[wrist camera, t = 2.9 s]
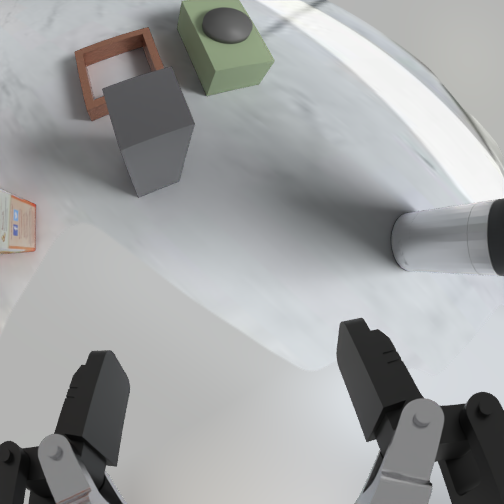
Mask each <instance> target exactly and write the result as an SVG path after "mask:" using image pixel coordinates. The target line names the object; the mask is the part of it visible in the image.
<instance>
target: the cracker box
mask: <svg viewBox="0 0 504 504" xmlns="http://www.w3.org/2000/svg"><path fill="white" fill-rule="evenodd" d="M35 211H36V205H35V204H34V203H31V202H29V201H27V200H25V199H22V198H20V197H18V196H16V195H13V194H11V193H9V192H7V191H5V190H3V189H0V254H9V253H20V252H31V251H35Z"/></svg>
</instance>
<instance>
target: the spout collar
mask: <svg viewBox="0 0 504 504" xmlns="http://www.w3.org/2000/svg"><path fill="white" fill-rule="evenodd" d="M141 47H143V49H144V52H145V55H146V58H147V60H148V63H149V66H150V69H151V72H153V71H156V70H160V69H163V68H164V67H163V64H162V61H161V59H160V56H159V54H158V51H157V48H156V46H155V43H154V40H153V38H152V35H151V33H150V30H149V27H147V28H143V29H140V30H136V31H132V32H129V33H126V34H122V35H119V36H116V37H113V38H110V39H107V40H104V41H101V42H99V43H96V44H93V45H90V46H88V47H85V48H83V49H80V50H78V51H75V57H76V62H77V68H78V73H79V78H80V82H81V87H82V91H83V96H84V100H85V104H86V108H87V112H88V114H89V116H90V118H91V120H92V121H93V120H96V119H98V118H100V117H103V116H105V115H108V114H109V112H108V108H107V105H106V101H105V97H104V96H103V97H101V98H98V99H96V100H94V96H93V92H92V88H91V83H90V79H89V75H88V70H87V66H88V65H91V64H94V63H96V62H99V61H101V60H104V59H107V58H110V57H113V56H116V55H119V54H122V53H125V52H128V51H131V50H134V49H138V48H141Z"/></svg>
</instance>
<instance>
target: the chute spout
mask: <svg viewBox="0 0 504 504" xmlns="http://www.w3.org/2000/svg"><path fill="white" fill-rule="evenodd" d="M102 90H103V94H104V97H105V101H106V105H107V108H108V112H109V115H110V119H111V122H112V125H113V129H114V132H115V135H116V138H117V142H118V145H119V148H120V151H121V154H122V156H123V159H124V162H125V164H126V167H127V170H128V172H129V175H130V177H131V180H132V183H133V185H134V188H135V190H136V193H137V195H138V198H139V197H141V196H144V195H146V194H148V193H151V192H153V191H156V190H158V189H161V188H163V187H166V186H168V185H171V184H174V183H176V182H179V180H180V176H181V172H182V168H183V165H184V161H185V157H186V153H187V150H188V146H189V143H190V139H191V135H192V132H193V129H194V125H195V123H194V121H193V118H192V116H191V113H190V111H189V108H188V106H187V103H186V101H185V98H184V96H183V93H182V91H181V88H180V86H179V83H178V81H177V78H176V76H175V73H174V71H173V68H172V66H171V67H167V68H163V69H160V70H156V71H153V72H150V73H146V74H143V75H140V76H137V77H134V78H131V79H128V80H125V81H122V82H119V83H117V84H114V85H111V86H109V87H106V88H103V89H102Z"/></svg>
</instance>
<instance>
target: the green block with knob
mask: <svg viewBox="0 0 504 504" xmlns="http://www.w3.org/2000/svg"><path fill="white" fill-rule="evenodd" d="M177 30H178V32H179V34H180V36H181V39H182V41H183V43H184V45H185V48H186V50H187V52H188V54H189V57H190V59H191V61H192V63H193V66H194V68H195V70H196V73H197V75H198V77H199V80H200V82H201V84H202V86H203V89H204V91H205V93H206V96H210V95H214V94H218V93H222V92H226V91H230V90H235V89H239V88H244V87H249V86H254V85H259V84H260V82H261V81H262V79H263V78H264V76H265V75H266V73H267V72H268V70H269V69H270V67H271V66H272V64H273V63H274V59H273V57H272V55H271V53H270V51H269V50H268V48H267V46H266V44H265V43H264V41H263V39H262V37H261V36H260V34H259V32H258V30H257V29H256V27H255V25H254V24H253V22H252V20H251V19H250V17H249V15H248V14H247V12H246V10H245V9H244V7H243V6H242V4H241V2H240V1H239V0H185V1H182V3H181V8H180V14H179V20H178V26H177Z"/></svg>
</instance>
